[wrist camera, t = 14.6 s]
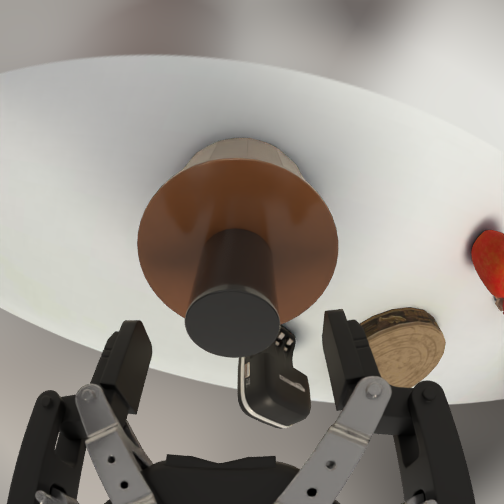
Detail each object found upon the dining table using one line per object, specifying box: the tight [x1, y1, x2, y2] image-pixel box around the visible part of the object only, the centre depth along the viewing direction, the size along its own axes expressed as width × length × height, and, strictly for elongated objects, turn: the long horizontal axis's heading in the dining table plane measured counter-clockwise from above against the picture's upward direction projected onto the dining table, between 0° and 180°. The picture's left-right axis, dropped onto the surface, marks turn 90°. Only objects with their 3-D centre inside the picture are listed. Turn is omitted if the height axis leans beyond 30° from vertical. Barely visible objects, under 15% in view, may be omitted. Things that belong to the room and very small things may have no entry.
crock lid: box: [137, 156, 338, 358], centre depth 16 cm, size 12×12×7 cm
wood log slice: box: [360, 308, 446, 388], centre depth 35 cm, size 16×16×3 cm
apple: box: [471, 230, 504, 298], centre depth 24 cm, size 6×6×8 cm
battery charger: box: [238, 325, 311, 429], centre depth 28 cm, size 7×4×11 cm, turn 45°
